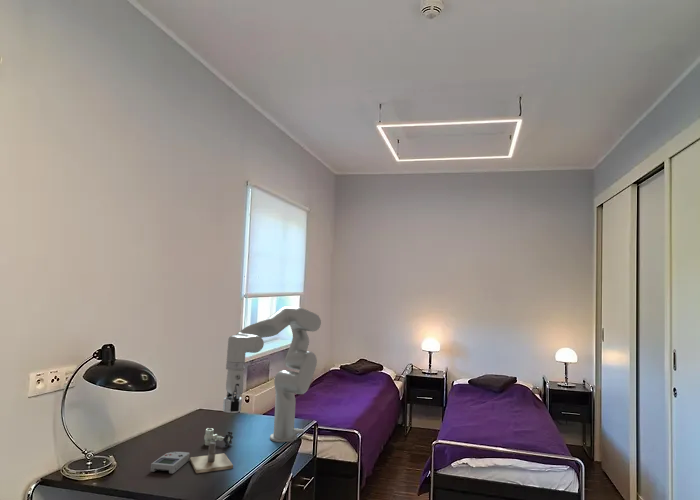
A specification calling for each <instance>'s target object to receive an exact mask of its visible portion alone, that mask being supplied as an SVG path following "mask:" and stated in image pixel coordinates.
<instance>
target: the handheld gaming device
mask: <svg viewBox="0 0 700 500" xmlns="http://www.w3.org/2000/svg"><path fill="white" fill-rule="evenodd" d="M190 456H191V455H190V452H186V451H171V452H166V453H165V454H163V455H162V456H159V458H158V459H156V460H155V461H153V462H151V464H150V473H151V472H152V473H154V472H155V473H156V472H157V471H166V472H168V473H169V474H175V473H176V472H177V471H178V470H179V469H181V468H182V467H183V466H184V465H186V464H187V463H188V462H190Z"/></svg>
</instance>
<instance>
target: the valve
mask: <svg viewBox="0 0 700 500" xmlns="http://www.w3.org/2000/svg"><path fill="white" fill-rule="evenodd" d="M214 432H215V430H214V428H212V427H211V428H210V427H207V428H206V429H205V434H204V436H203V437H204V438H203V439H204V445H205V446H208V447H209V443H211V442H217V441H220V442H221V441H223V442H224V443H225V444H224V447H227V448H230V447H231V445H232V443H233V438H234V436H233V432H232V431H227V434H225V435H224V436H223V435H219V434H218V433H215V434H214ZM230 444H231V445H230Z"/></svg>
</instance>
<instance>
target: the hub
mask: <svg viewBox="0 0 700 500" xmlns="http://www.w3.org/2000/svg"><path fill="white" fill-rule="evenodd" d="M234 397H235V396H234ZM239 399H240V401H239V411H233V412H231V401H232V396H231V397H227V396H225V397H223V403H222V411H223V412H224V413H230V414H235V413H236V414H237V413H240V412H241V411H242V403H243V401H242V400H243V398H242V397H241V396H240V398H239Z"/></svg>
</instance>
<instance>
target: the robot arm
mask: <svg viewBox="0 0 700 500" xmlns="http://www.w3.org/2000/svg"><path fill="white" fill-rule="evenodd" d="M321 324H322V320H321V317H320V316H319V315H318V314H317V313H314V312H312V311H311V310H307V309H305V308H303V307H297V306H291V305H290V306H289V305H286V306H283V307H281V308H280V309H278V310H276V312H274V313H273V314H272V315H270V316H269V317H267V318H266V319H263V320H261V321H258V322H255V323H252V324H250V325H247V326H245V327H243V328H242V329H241V330H240V331H238V332H237V333H236V334H235V335H231V336H229V337H228V340H227V349H226V352H227V353H226V362H225V363H226V364H225V369H226V370H227V374H226V383H225V389H226V397H231V396H232V401H231V412H233V411H239V401H240V399H239V398H240V397H241V395H243V393H244V370H245V367H246V366H245V363H246V353H249V354H250V353H251V354H255V353H256V354H257V353H259V352H260V351H262V349H263V348H264V346H265V345H264V344H265V342H264V339H263V338H270V337H275V336H277V335H278V334H279V333H281V332H282V331H283V330H284V329H286V328H288V327H290V329H291V332H292V339H291V342H290V345H289V347H288V351H287V353H286V355H285V359H284V364H285V367H286V368H288V369H291V370H295V371H291V370H287V369H286V370H285V369H282V370H280V371H278V372H277V373H276V374H275V376H274V390H275V393H274V394H275V399H274V401H275V402H274V405H275V406H274V419H273V420H274V421H273V433H271V434H270V435H269V439H270V441H272V442H275V443H283V442H287V443H292V442H295V441H297V439H298V436H297V435H299V434H304V432H305V430H304V429H303V428H301V429H300V428H298V427H297V428H295V420H296V419H295V418H296V417H295V416H296V401H297V400H296V396H295V394H296V395H303V394H306V392H307V391H309V388H310V386H311V383H312V380H313V377H314V374H315V371H316V368H317V362H318V359H317V356H316V354H315V353H314V352H313V351H309V350H308V349H309V345H310V338H309V334H308V332H312V333H313V332H317V331H318V330H319V329H320V328H321V326H322V325H321ZM296 370H297V371H298V372H297V371H296ZM234 396H235V397H234ZM294 440H295V441H294ZM283 444H284V443H283Z"/></svg>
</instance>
